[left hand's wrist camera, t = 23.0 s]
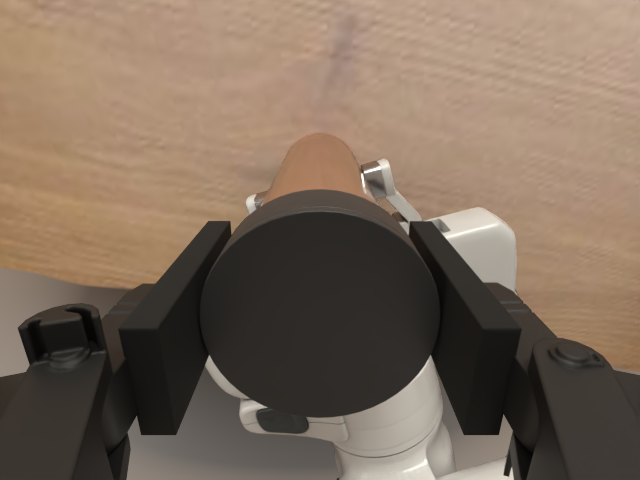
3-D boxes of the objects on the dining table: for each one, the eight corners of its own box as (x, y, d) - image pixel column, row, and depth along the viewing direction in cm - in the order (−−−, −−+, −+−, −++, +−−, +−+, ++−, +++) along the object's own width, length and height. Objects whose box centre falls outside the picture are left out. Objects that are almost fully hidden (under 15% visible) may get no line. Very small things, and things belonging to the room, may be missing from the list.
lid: (443, 205, 11) (470, 230, 9) (396, 378, 13) (409, 429, 11) (225, 173, 11) (203, 192, 9) (213, 356, 13) (195, 405, 11)
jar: (367, 146, 28) (449, 247, 10) (342, 215, 30) (376, 401, 12) (295, 123, 28) (249, 185, 10) (274, 194, 29) (204, 358, 11)
